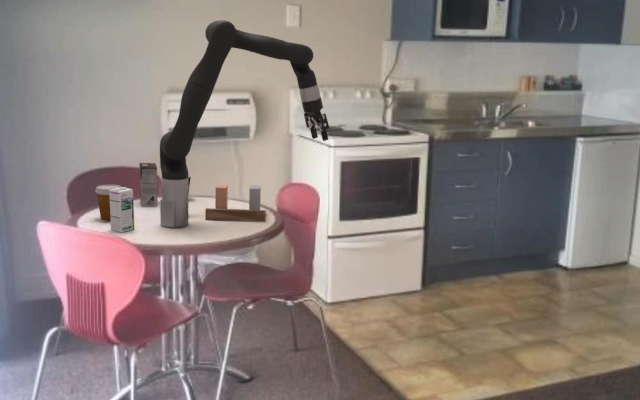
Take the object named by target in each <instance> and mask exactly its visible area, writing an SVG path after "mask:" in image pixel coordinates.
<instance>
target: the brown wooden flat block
mask: <svg viewBox="0 0 640 400" xmlns="http://www.w3.org/2000/svg"><path fill="white" fill-rule="evenodd" d="M204 210H205V211H204V212H205V214H204V215H205V221H229V222H256V223H257V222H259V223H261V222H262V223H264V222H265V223H266V221H265V220H266V216H267V210H266V209H260V210H249V209H238V208H227V209H215V208H212V207H211V208H210V207H209V208H207V207H206V208H205V209H204Z"/></svg>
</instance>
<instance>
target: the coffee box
mask: <svg viewBox="0 0 640 400" xmlns="http://www.w3.org/2000/svg"><path fill="white" fill-rule="evenodd" d="M139 193H140V195H139V196H140V199H139V200H140V205H141V208H143V207H144V208H145V207H147V208H148V207H150V208H151V207H152V208H153V207H158V167H157V164H156V163H155V162H140V163H139Z"/></svg>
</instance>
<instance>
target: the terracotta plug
mask: <svg viewBox="0 0 640 400" xmlns="http://www.w3.org/2000/svg"><path fill="white" fill-rule="evenodd" d="M228 188H229V187H228V184H219V183H218V184H217V185H216V186H215V203H214V204H215V208H214V209H228V203H229V202H228V201H229V200H228V193H229V192H228V190H229V189H228Z"/></svg>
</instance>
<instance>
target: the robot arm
mask: <svg viewBox="0 0 640 400" xmlns="http://www.w3.org/2000/svg"><path fill="white" fill-rule="evenodd" d="M204 33H205V39H206V40H207V42H208V43H207V47H206V49H205V52H204V54H203V56H202V58H201V59H200V61H199V62H198V63H197V65H196V66H195V68H193V70H192V72H191V74H190V76H189V78H188V79H187V82H186V85H185V87H184V90H183V92H182V96H181V98H180V106H179V107H180V108H179V112H178V117H177V120H176V122H175V125H174V126H173V128H172V131H169V132H166V133H165V134H164V135H162V137H161V139H160V142H159V164H160V165H159V167H160V170H161V171H160V172H161V199H160V200H159V205H160V206H159V207H160V208H159V209H160V210H159V212H160V216H159V217H160V219H159V220H160V226H162V227H166V228H171V229H176V228H184V227H187V226H188V225H189V196H188V175H189V169H188V167H187V165H188V164H187V156H188V155H189V153H190V151H191V148H192V145H193V141H194V138H195V134H196V132H197V128H198V125H199V123H200V122H201V119H202V117H203V114H204V113H205V110H206V108H207V105H208V104H209V101H210V99H211V96H212V94H213V92H214V89H215V86H216V84H217V82H218V78H219V77H220V74H221V70H222V67H223V65H224V63H225V61H226V58H227V57H228V55H229V53H230V51H231V50H232V48H233V49H239V50H244V51H247V52H249V53H250V52H251V53H255V54H258V55H260V56H264V57H268V58H272V59H276V60H281V61H282V60H284V61H288V62H289V63H290V66H291V68H292V71H293V72H294V75H295V77H296V81H297V85H298V90H299V97H300V102H301V105H302V109H303V110H302V111H303V112H304V113H303V116H304V120H305V126H306V128H307V129H309V131H310V134H311V138H312V139H313V140H315V139H317V138H319V135H318V132H317V131H318V130H317V128H318V129H319V131H320V134H321V140H322V141H323V142H325V141H329V136H328V135H329V134H328V131H327V130H329V129H330V124H329V120H328V118H327V114H326V113H325V112H324V113H322V112H321V110H322V109H323V108H324V106H323V100H322V97H321V91H320V88H319V86H318V82H317V77H316V74H315V72H314V70H312V69H311V68H310V63H311V62H312V61H313V59H314V52H313V50H312V48H311V47H310V46H308V45H304V44H301V43H295V42H289V41H286V40H284V39H283V40H282V39H279V38H276V37H271V36H267V35H262V34H255V33H251V32H246V31H244V30H239V29H236V27H235V25H234V24H233V23H232V22H230V21H229V20H225V19H224V20H221V19H220V20H214V21H212V22H211V23H209V24H208V25H207V27H206V28H205V32H204Z"/></svg>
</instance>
